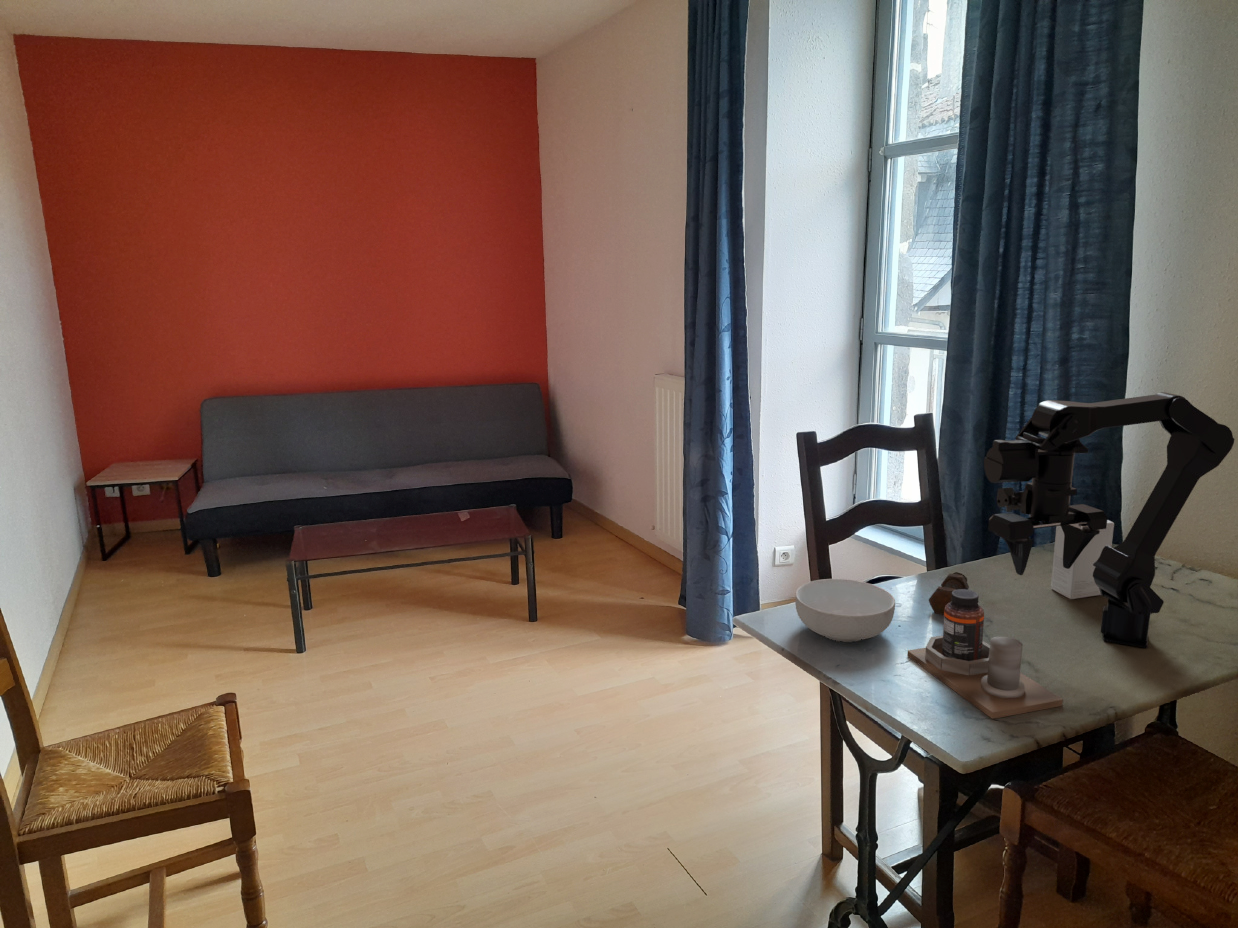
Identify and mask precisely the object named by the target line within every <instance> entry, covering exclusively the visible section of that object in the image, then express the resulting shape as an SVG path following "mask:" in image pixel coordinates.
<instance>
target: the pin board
mask: <svg viewBox="0 0 1238 928" xmlns="http://www.w3.org/2000/svg"><path fill="white" fill-rule="evenodd" d="M942 645H943V634H942V635H935V636H931V637H930V638H929V640H928V642H927V644H926V646H925V647H921V648H914V649H910V650H907V655H906V656H907V657H908V658H910V660H912V662H913V661H914V662H915V663H916V664H918V665H919V666H920V667H921V668H923V669H924V670H925V671H927V672H928V673H929V674H931V675H933V677H935V678H937V679H938V681H941V682H942V683H943V684H944V685H946V686H947V687H949V688H950V689H951V690H953V691H954V692H955V693H957V694H958V695H959V696H961V697H962V698H963V699H965V700H966V701H967V702H969V703H970V704H972V705H973V706H974V707H975V708H977V709H978V710H980V711H981V712H982V713H984V714H985V715H986V716H987V717H989V718H991V720H992V719H993V720H994V719H998V718H1004V717H1009V716H1015V715H1019V714H1021V715H1022V714H1025V713H1031V712H1035V711H1042V710H1046V709H1051V708H1052V709H1053V708H1057V707H1063V703H1064V699H1063V698H1061V697H1060V696H1059V695H1057V694H1055V693H1054V692H1052V691H1050V689H1047V688H1046V687H1044V686H1043V685H1042V684H1040V683H1038V682H1036V681H1035V680H1033V679H1031V678H1030V677H1029V676H1027V675H1025V674H1023V673H1022V671H1021V668H1022V667H1021V666H1022V658H1023V657H1022V655H1023V647H1024V645H1023V643H1022V642H1021V641H1020V640H1019V639H1016V638H1013V637H1009V636H1001V635H1000V636H999V635H998V636H994V637H992V638H990V641H989V643H987V642H986V641H984V640H983V642H982V656H981V659H979V660H973V661H965V660H960V659H955V658H949V657H945V656H943V655H942Z"/></svg>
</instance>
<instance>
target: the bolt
mask: <svg viewBox="0 0 1238 928" xmlns="http://www.w3.org/2000/svg"><path fill="white" fill-rule="evenodd" d="M969 588H970V585H969V583H968V578H967V577H966V576H965V574H963V573H961V572H958V571H957V572H956V571H955V572H953V573H949V574H947V576H946V577H945V578H944V580H943V581H942V582H941V584H940V586H937V588H936V589H935V590H934V592H933V593H932V594H931V595H930V597H929V598H928V603H929V605H930V607H931V609H932V612H934V614H936V615H940V616H944V610H945V606H946V605H947V604H948V603H950V602H951V601H952V600H951V598H952V592H953V591H954V590H958V589H966V590H969Z"/></svg>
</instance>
